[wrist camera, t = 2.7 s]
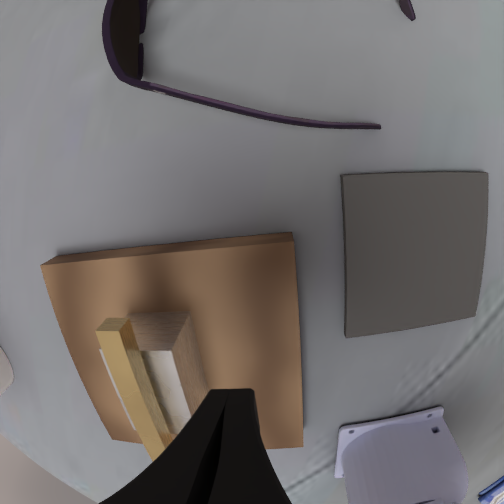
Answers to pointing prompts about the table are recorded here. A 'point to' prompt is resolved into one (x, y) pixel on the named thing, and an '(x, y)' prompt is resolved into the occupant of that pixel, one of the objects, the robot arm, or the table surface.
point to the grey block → (169, 364)
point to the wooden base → (193, 319)
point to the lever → (133, 383)
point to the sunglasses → (131, 71)
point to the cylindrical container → (5, 372)
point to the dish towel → (493, 493)
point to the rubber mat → (412, 248)
